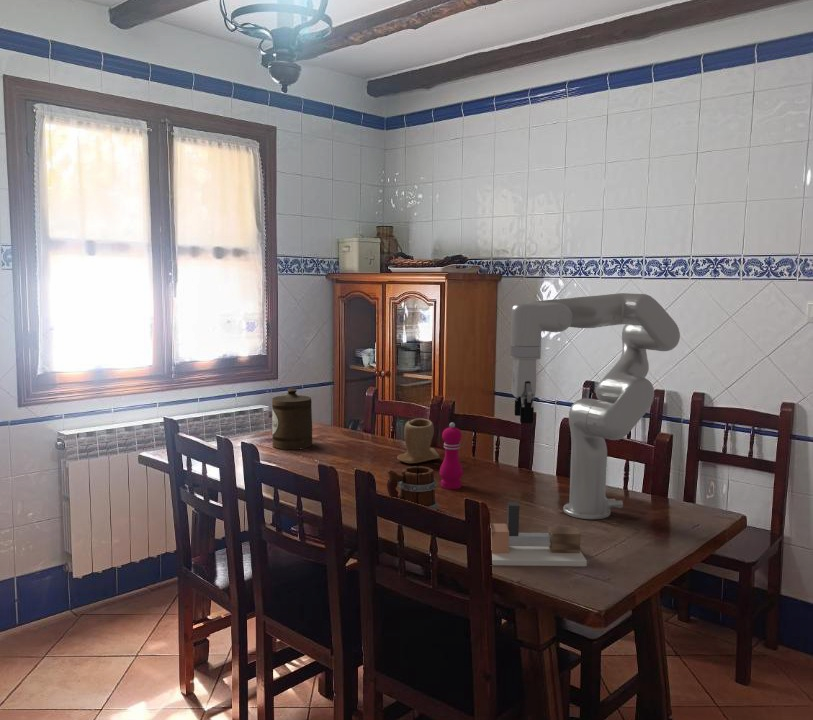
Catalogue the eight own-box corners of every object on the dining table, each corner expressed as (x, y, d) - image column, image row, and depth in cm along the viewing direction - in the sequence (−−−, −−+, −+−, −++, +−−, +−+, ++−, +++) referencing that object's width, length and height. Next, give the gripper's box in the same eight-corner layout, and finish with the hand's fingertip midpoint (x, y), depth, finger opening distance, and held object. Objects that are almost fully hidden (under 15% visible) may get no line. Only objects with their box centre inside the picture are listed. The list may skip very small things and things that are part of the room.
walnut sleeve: (575, 546, 176) (576, 527, 175) (579, 553, 171) (580, 534, 171) (547, 545, 176) (548, 526, 175) (551, 552, 171) (552, 533, 171)
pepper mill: (461, 490, 224) (462, 425, 222) (437, 488, 226) (438, 424, 223) (464, 483, 231) (465, 420, 229) (441, 482, 233) (442, 419, 230)
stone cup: (412, 468, 249) (412, 424, 247) (392, 460, 259) (393, 418, 257) (448, 462, 258) (448, 419, 256) (428, 455, 267) (428, 414, 266)
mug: (449, 513, 201) (442, 461, 199) (404, 530, 195) (395, 477, 192) (428, 502, 212) (421, 452, 209) (384, 517, 205) (376, 466, 203)
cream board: (573, 543, 181) (573, 538, 181) (586, 566, 167) (586, 561, 167) (482, 542, 181) (482, 537, 181) (488, 565, 167) (488, 559, 167)
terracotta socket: (505, 544, 176) (506, 523, 176) (508, 553, 171) (509, 531, 170) (488, 544, 176) (489, 523, 176) (491, 553, 171) (491, 531, 170)
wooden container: (279, 440, 289) (278, 384, 286) (316, 442, 287) (316, 385, 284) (267, 449, 274) (266, 390, 271) (306, 450, 272) (305, 391, 269)
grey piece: (555, 542, 175) (556, 502, 174) (557, 546, 172) (558, 506, 171) (495, 542, 175) (496, 502, 174) (497, 546, 172) (498, 505, 171)
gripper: (506, 348, 196) (504, 412, 198) (515, 356, 179) (513, 426, 181) (534, 349, 196) (532, 413, 198) (546, 356, 179) (544, 426, 181)
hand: (523, 419), depth 189 cm, fingers open, 9 cm apart
